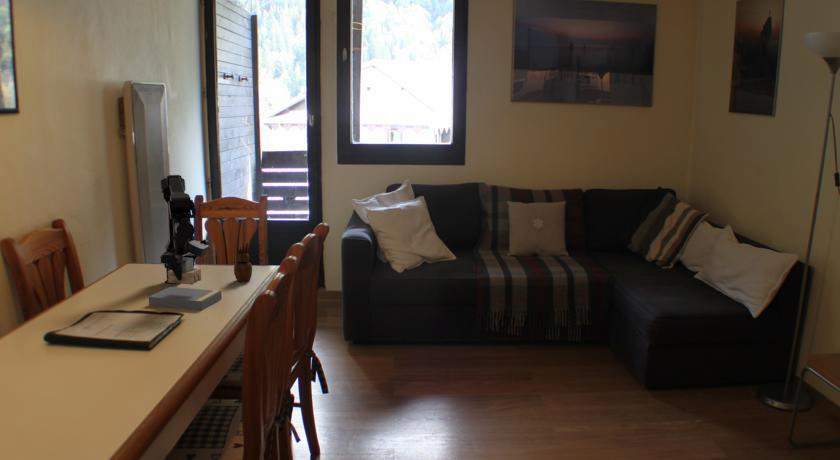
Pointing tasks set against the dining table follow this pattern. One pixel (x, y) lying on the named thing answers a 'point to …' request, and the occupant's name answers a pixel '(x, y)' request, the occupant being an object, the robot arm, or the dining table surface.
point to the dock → (185, 298)
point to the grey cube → (187, 264)
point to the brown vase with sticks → (243, 265)
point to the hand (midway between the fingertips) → (184, 277)
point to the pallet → (185, 277)
